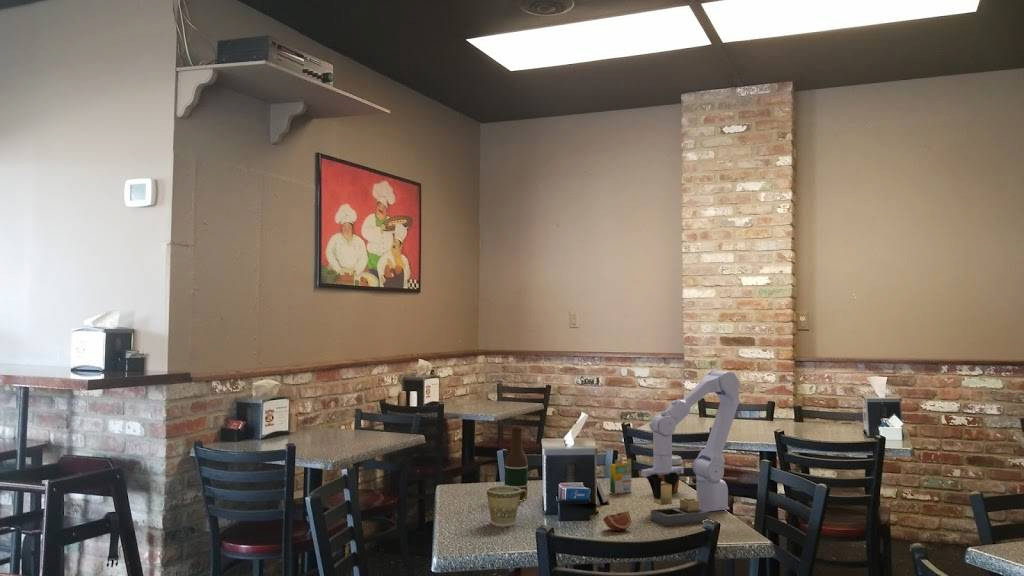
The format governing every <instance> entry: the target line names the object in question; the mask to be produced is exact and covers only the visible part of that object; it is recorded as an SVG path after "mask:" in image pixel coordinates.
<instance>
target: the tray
mask: <svg viewBox="0 0 1024 576" xmlns="http://www.w3.org/2000/svg"><path fill="white" fill-rule="evenodd" d="M709 512H710V511H705V510H702V509H699V501H698V500H696V499H695V498H694V497H691V496H690V497H683V498H679V507H677V506H676V507H671V508H670V507H668V508H658V509H650V521H652V522H655V523H657V524H659V525H661V526H664V527H666V528H667V527H678V526H685V525H687V526H688V525H695V524H702V521H703V520H706V519H709V516H710V515H709ZM709 520H710V519H709Z"/></svg>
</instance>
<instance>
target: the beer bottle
mask: <svg viewBox="0 0 1024 576" xmlns="http://www.w3.org/2000/svg"><path fill="white" fill-rule="evenodd" d="M510 429H511V440H510V447H509V448H510V449H509V451H508V453H507V455H506V457H505V460H504V486H512V487H517V488H520V489H524V490H526V492H527V493H528V468H529V467H528V458H527V455H526V453H525V451H524V450H523V439H522V438H523V437H522V430H523V426H521V425H511V428H510ZM524 496H525V492H524V491H523V492H521V494H520V499H519V500H522V499H523V498H524ZM527 498H528V495H527V496H526V498H525V499H527Z"/></svg>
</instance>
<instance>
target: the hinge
mask: <svg viewBox="0 0 1024 576" xmlns="http://www.w3.org/2000/svg"><path fill="white" fill-rule="evenodd" d="M605 502H606V504H607V503H608V504H607V505H611V502H610V499H609V498H608V497H606V496H605V494H604V491H603V489H602V485H601V483H600V481H599V480H598V479H597V505H596V506H600V505H601V504H602V503H603V504H604V503H605Z"/></svg>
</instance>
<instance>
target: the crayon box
mask: <svg viewBox="0 0 1024 576" xmlns="http://www.w3.org/2000/svg"><path fill="white" fill-rule="evenodd" d="M609 473H610V474H609V477H610V478H609V481H610V483H609V488H610V490H609V492H612V493H611V494H613V493H614V494H613V495H618V494H617V493H619V494H624V493H625V492H627V493H632V458H625V459H615V460H614V463H612V464H609ZM625 494H626V493H625Z"/></svg>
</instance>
